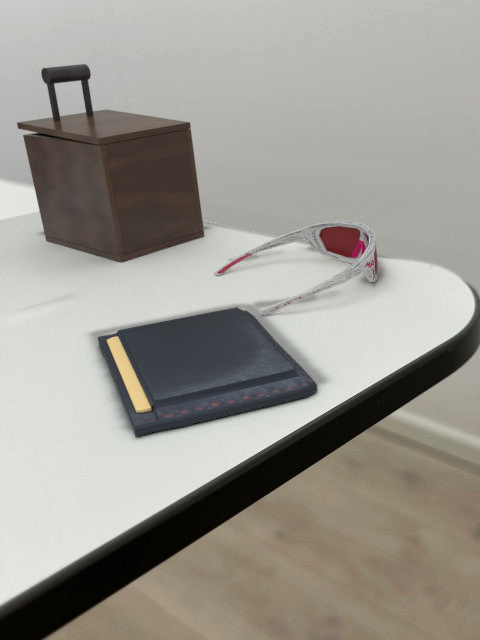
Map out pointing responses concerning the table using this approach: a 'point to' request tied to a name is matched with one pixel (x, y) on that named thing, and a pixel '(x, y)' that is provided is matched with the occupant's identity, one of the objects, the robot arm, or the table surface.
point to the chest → (117, 193)
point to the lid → (94, 115)
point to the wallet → (200, 369)
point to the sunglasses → (326, 253)
